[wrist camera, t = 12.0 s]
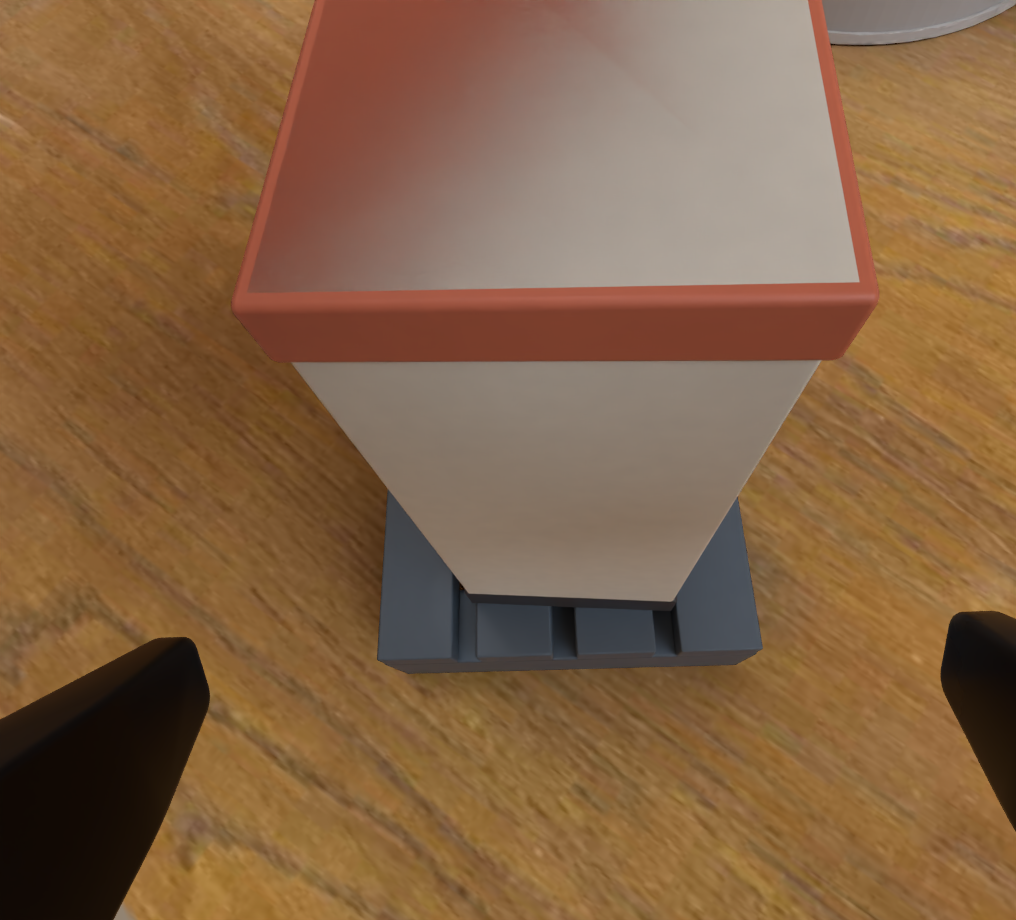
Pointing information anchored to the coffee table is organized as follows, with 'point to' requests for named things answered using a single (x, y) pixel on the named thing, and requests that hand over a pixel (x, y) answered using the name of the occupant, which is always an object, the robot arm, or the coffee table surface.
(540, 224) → the cream boot
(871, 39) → the container
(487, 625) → the grey shipping pallet
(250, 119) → the coffee table surface
